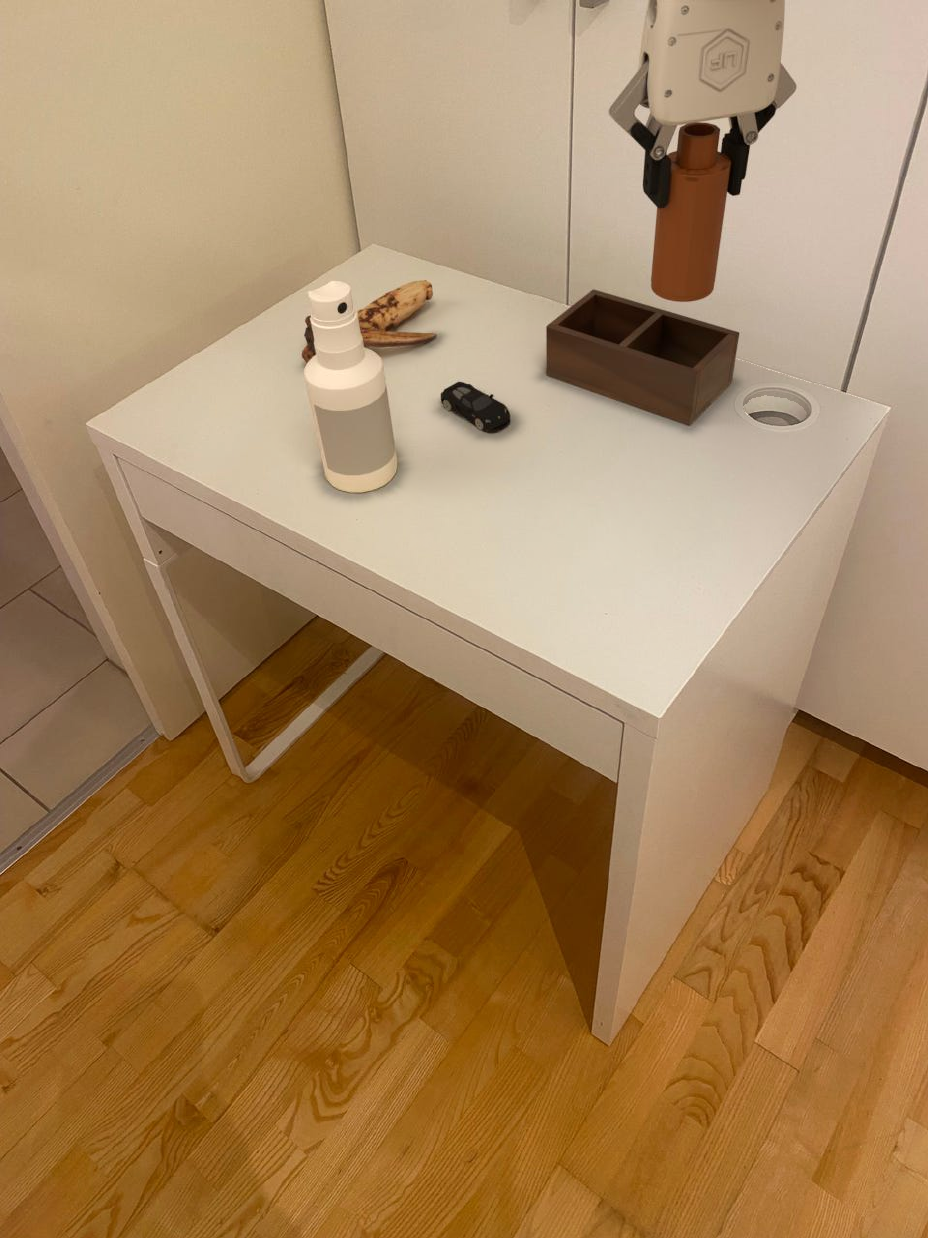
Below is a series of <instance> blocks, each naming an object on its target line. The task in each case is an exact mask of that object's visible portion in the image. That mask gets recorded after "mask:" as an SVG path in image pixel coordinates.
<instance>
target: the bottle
mask: <svg viewBox="0 0 928 1238" xmlns="http://www.w3.org/2000/svg"><path fill="white" fill-rule="evenodd" d="M720 133H721V128H720V127H719V126H717V125H716V124H713V123H709V122H696V123H689V124H683V125H682V126H680V127H679V129H678V135H677V145H676V150H675V151H672V152H669V153H668V154H667V156H668V157H669V158H670V159H671V174H670V184H669V195H668V204H667V206H666V207H665V208H660V209H658V208H657V207H656V214H655V215H656V216H655V228H654V238H653V239H654V241H653V253H652V263H651V274H650V275H651V276H650V288H651V291H652V292H653V293H654V294H655V295H656V296H658V297H659V298H661V299H664V300H666V301H671V302H678V303H686V302H687V303H689V302H695V301H700V300H703V299H705V298H707V297H709V296H710V295H711V294H712V293H713V291H714V289H715V282H716V276H717V270H718V263H719V255H720V248H721V242H722V241H721V240H722V234H723V226H724V218H725V211H726V205H727V204H726V203H727V197H728V192H727V190H728V182H729V175H730V168H731V160H730V159H729V157H728V156H727V155H725V154H723V153H721V151H718V150H719V143H720Z"/></svg>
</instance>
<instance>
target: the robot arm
mask: <svg viewBox="0 0 928 1238" xmlns="http://www.w3.org/2000/svg"><path fill="white" fill-rule="evenodd" d="M785 3H786V0H648V1H647V5H646V11H645V16H644V23H643V28H642V34H641V43H640V48H639V49H640V50H639V56H638V57H639V58H638V66H637V67H638V68H637V72H635V74H634V76H633V77H632V78H631V79H630V80H629V82H628V83H627V84H626V86H625V87H624V88H623V90H622V91H621V92H620V94H619V95H618V96H617V97H616V99H615V100H614V101H613V103H612V104H611V105H610V107H609V109H608V116H609V117H610V118H611V119H612V120H613V121H614V122H615V123H616V124H617V125H618V126H619V127H620V128H622V129H623V130H624V131H625V132H626V133H627V134H628V135H629V136H630V137H631V138H632V139H633V140H634V141H635V142H636V143H637V144H638V145H639V146H640V147H641V148H642V149H643V150H644V160H643V161H644V162H643V175H642V190H643V193H644V195H646V197H647V198H648V199H649V200H650V201H651V202H652V203H653V205H655V207H656V209H657V208H658V209H660V208H665V207H666V206H667V204H668V195H669V184H670V174H671V159H670V158H669V157H668V156H667V155H668V154H667V153H668V149H669V146H670V144H671V142H672V139H673V136H674V134H675V131H676V129H677V127H678V126H681V125H682V126H683V125H686V124H690V123H696V122H701V123H703V122H708V121H714V120H720V119H726V118H727V119H728V125H729V131H728V132H725V133H724V134H723V137H722V140H721V148H720V152H721V153H723V154H725V155H727V156H728V157H729V159H730V160H731V168H730V175H729V182H728V190H727V194H729V195H731V196H732V197H735V196H740V195H741V191H742V183H743V180H745V179H746V176H747V171H748V164H749V163H748V162H749V155H750V149H751V146H752V145H754V144H755V143H756V142H757V141H758V139H759V133H760V132H761V131H762V130H763V129H764V127H765V126H766V125H767V124H768V123H769V122H770V121H771V120H772V119H773V117H775V115H776V113H777V110H778V109H780V108H781V107H782V106H783V105H784V104H785V103H786V102H787V101H788V100H789V99H790V98H791V97H792V96H793V94H794V93H796V90H797V83H796V81H795V80H794V78H792V76H791V75H790V73H789V72H788V70H787V69H786V68H785V66H784V65H783V64H782V52H783V43H784V42H783V41H784V31H785V30H784V29H785V12H786V11H785V9H786V4H785ZM639 105H640V106H641V107H642V108H646V109H649V112H650V113H649V115H648V117H647V120H646V122H645V124H644V123H643V122H641V120H639V119H638V117H636V114H635V112H636V110H637V108H638V107H639Z"/></svg>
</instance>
